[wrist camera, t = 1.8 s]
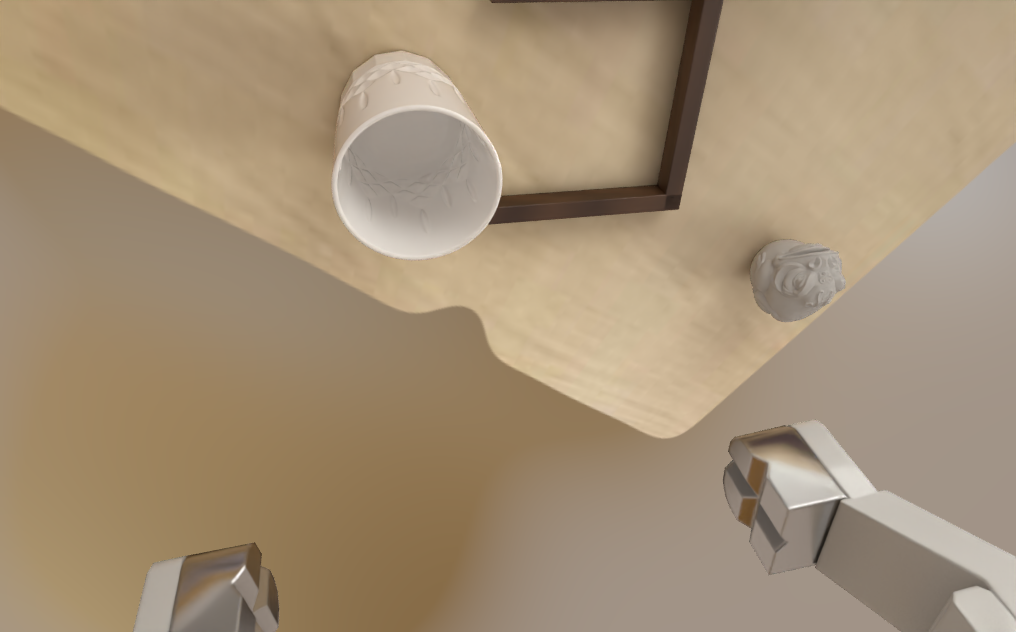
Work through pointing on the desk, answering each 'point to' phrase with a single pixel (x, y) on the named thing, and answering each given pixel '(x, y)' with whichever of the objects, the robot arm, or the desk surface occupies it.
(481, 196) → the white cup
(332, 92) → the desk surface
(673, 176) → the dock
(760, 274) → the sculpted head
